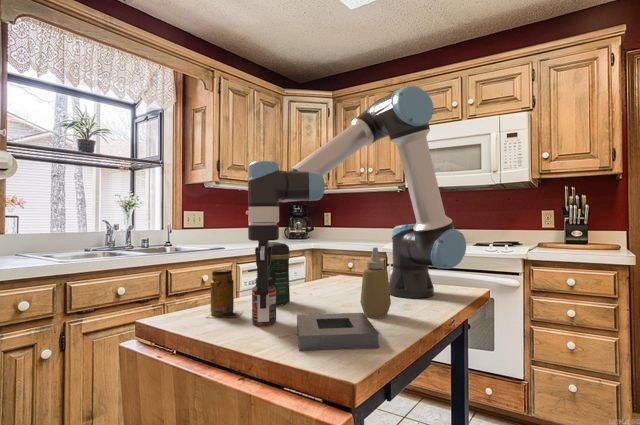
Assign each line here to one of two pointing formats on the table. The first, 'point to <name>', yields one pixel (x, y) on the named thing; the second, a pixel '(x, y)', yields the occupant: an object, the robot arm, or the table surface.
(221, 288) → the condiment
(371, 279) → the squeeze bottle
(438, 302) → the table surface
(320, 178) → the robot arm
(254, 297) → the supplement bottle
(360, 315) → the socket block
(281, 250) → the coffee jar
